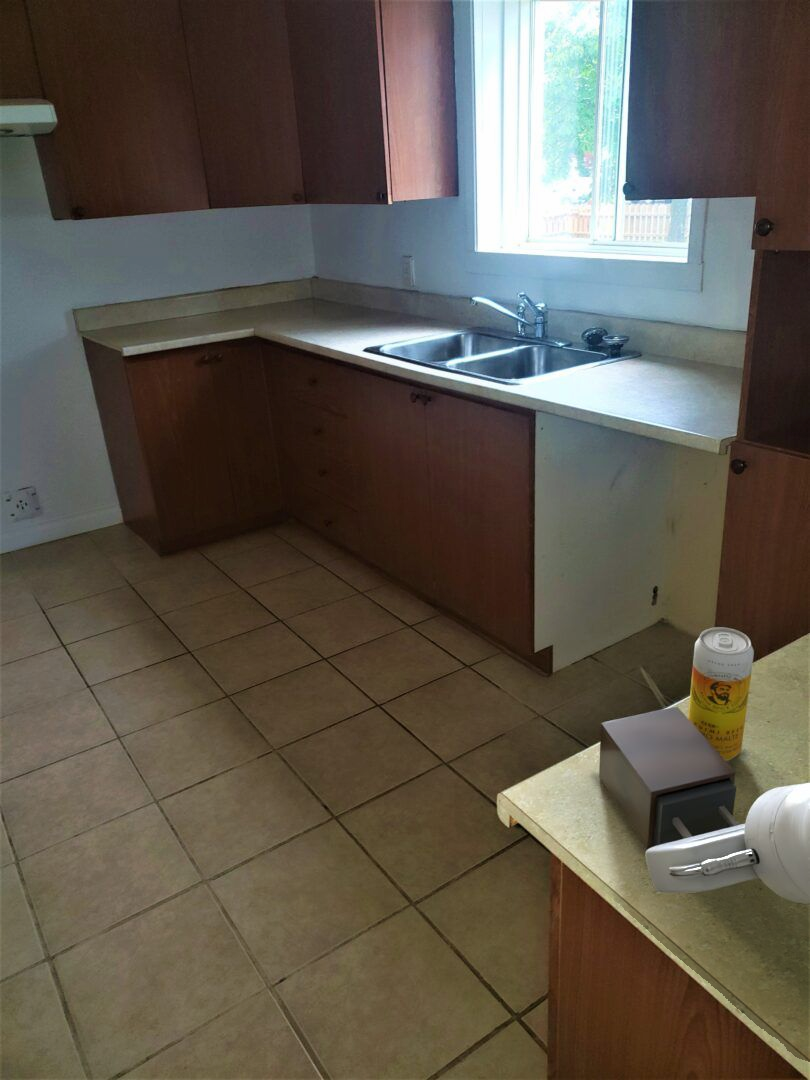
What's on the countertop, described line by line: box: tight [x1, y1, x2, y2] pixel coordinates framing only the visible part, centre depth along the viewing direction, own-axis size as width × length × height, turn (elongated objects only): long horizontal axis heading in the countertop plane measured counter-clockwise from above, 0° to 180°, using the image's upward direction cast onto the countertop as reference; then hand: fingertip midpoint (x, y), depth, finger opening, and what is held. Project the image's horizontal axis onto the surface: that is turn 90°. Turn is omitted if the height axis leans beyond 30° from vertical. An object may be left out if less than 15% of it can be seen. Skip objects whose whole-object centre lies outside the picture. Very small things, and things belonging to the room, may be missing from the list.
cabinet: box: [598, 706, 737, 851], centre depth 87 cm, size 11×9×8 cm
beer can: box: [687, 626, 755, 762], centre depth 92 cm, size 6×6×15 cm
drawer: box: [653, 780, 740, 846], centre depth 84 cm, size 15×8×6 cm, turn 13°
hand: (724, 845), depth 77 cm, fingers closed, pressing on drawer
